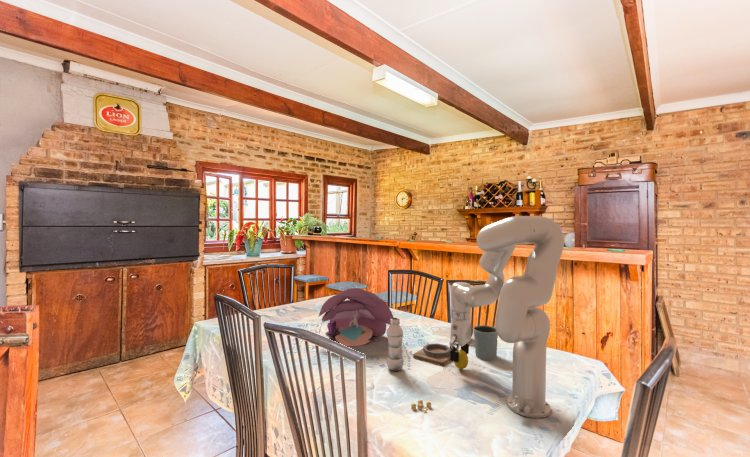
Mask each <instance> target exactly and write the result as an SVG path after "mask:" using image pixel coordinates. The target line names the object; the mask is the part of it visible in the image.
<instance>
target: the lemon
mask: <svg viewBox="0 0 750 457" xmlns="http://www.w3.org/2000/svg"><path fill="white" fill-rule="evenodd" d="M458 352H459V362H454V361H453V364H454V365H455V367H456V368H457V369H459V370H460V371H462V370H464V369H466V368H467V367H468V364H469V356H468V354H466V352H464V351H463V350H461V349H459V350H458Z"/></svg>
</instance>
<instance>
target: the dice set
mask: <svg viewBox="0 0 750 457" xmlns="http://www.w3.org/2000/svg"><path fill="white" fill-rule="evenodd" d="M422 405H424V404H423V400H422V399H418V401H417V404H416V403H411V405H410V406H411V407H410V408H411V410H412V409H418V410H420V409H421V410H422V412H423V411H424V412H426V413H428V409H431V408H432V401H426V406H422ZM427 407H428V408H427ZM430 407H431V408H430ZM422 408H424V409H427V410H424V409H422ZM424 412H423V413H424Z"/></svg>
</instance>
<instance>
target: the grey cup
mask: <svg viewBox="0 0 750 457" xmlns="http://www.w3.org/2000/svg"><path fill="white" fill-rule="evenodd" d="M473 338H474V339H473V340H474V349H475V350H474V352H475V357H476V358H478V359H479V360H483V361H494V360H496V359H497V355H498V354H497V353H498V351H497V350H498V338H499V336H498V334H497V332H496V328H495V326H491V325H476V326H474V327H473Z"/></svg>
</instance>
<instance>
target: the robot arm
mask: <svg viewBox="0 0 750 457" xmlns="http://www.w3.org/2000/svg"><path fill="white" fill-rule="evenodd" d="M564 237H565V236H564V233H563V230H562V229H561V227H560V225H559V224H558V223H557V222H556V221H555V220H553V219H552V218H549V217H546V216H541V215H514V216H513V215H512V216H510V217H506V218H502V219H501V220H499V221H498V220H497V221H496V222H493V223H490V224H488V225H485V226H484V227H482V228H481V229H480V230H479V231H478V234H477V236H476V245H477V247H478V248H479V249H480V250H481V251H483V253H481V254H482V255H481V256H480V259H479V266H480V268H482V269H483V271H485V272H486V273H488V274H489V276H488V278H487V280H486V282H485V284H479V285H473V286H472V285H471V284H470V283H468V282H464V281H457V282H453V283H452V284H451V297H450V298H451V299H450V300H451V301H450V302H451V303H450V304H451V306H450V318H451V325H450V341H449V348H450V351H451V354H450V360H451V361H450V362H453V363H454V362H459V352H458V350H463V351H464V352H466V354H467V355H468V354H469V353H470V351H469V350H470V341H471V340H472V337H471V324H472V321H471V319H472V315H471V314H472V308H479V307H483V306H488V305H490V306H491V305H492V304H494V303H496V301H497V300H498V303H497V307H496V314H495V319H494V327H495V328H496V332H497V334H498V338H499V339H500V340H502V341H503V342H504V343H506V344H507V343H508V344H513V347H512V392H511V393H512V394H511V395H509V396H507V399H506V404H507V406H508V407H509V409H510V410H511V411H512V412H514V413H516V414H518V415H521V416H523V417H527V418H532V419H533V418H534V419H542V418H545V417H548V416H550V415H551V414H552V410H551V409H552V406H551V405H550V404H549V403H548V402H547V401H546V389H547V388H546V386H547V385H546V384H547V383H546V381H547V378H546V376H547V346H548V339H549V336H550V331H551V323H550V322H551V321H550V318H549V316H548V314H547V313H546V311H545V310H543V309H542V308H539V307H540V306H544V305H547V304H548V303H549V302H550V301H551V299H552V297H553V292H554V287H555V283H556V279H557V273H558V269H559V264H560V261H561V257H562V254H563V250H564V246H565V238H564ZM532 244H534V247H533V249H532V250H531V252H530V254H529V255H528V258H527V260H526V265H525V266H526V267H525V270H524V273H523V274H522V275H518V276H512V277H510V278H509V279H507V280H505V275H504V274H505V273H504V269H505V268H506V266H507V265H508V262H509V260H510V258H511V256H512V255H513V253H514V251H515V249H516V247H517V245H532Z"/></svg>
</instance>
